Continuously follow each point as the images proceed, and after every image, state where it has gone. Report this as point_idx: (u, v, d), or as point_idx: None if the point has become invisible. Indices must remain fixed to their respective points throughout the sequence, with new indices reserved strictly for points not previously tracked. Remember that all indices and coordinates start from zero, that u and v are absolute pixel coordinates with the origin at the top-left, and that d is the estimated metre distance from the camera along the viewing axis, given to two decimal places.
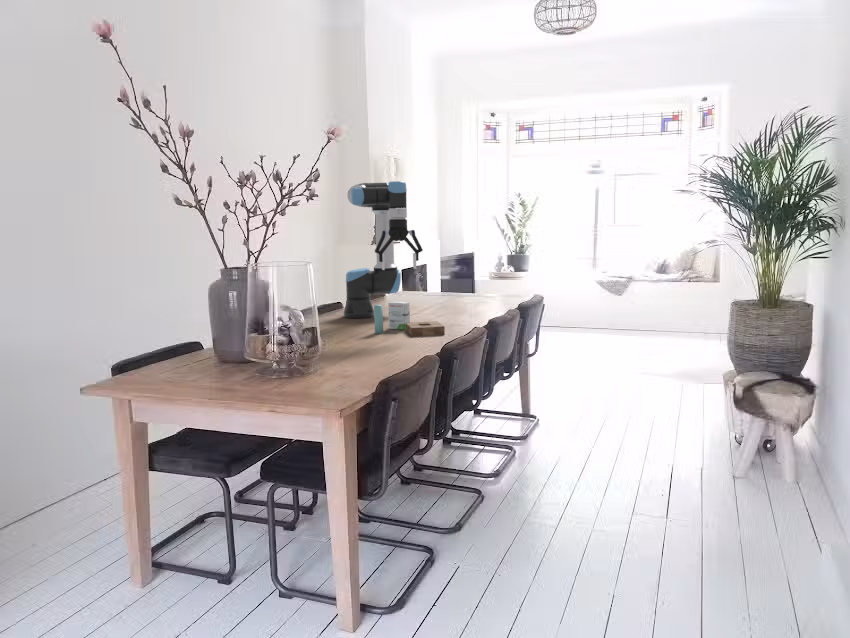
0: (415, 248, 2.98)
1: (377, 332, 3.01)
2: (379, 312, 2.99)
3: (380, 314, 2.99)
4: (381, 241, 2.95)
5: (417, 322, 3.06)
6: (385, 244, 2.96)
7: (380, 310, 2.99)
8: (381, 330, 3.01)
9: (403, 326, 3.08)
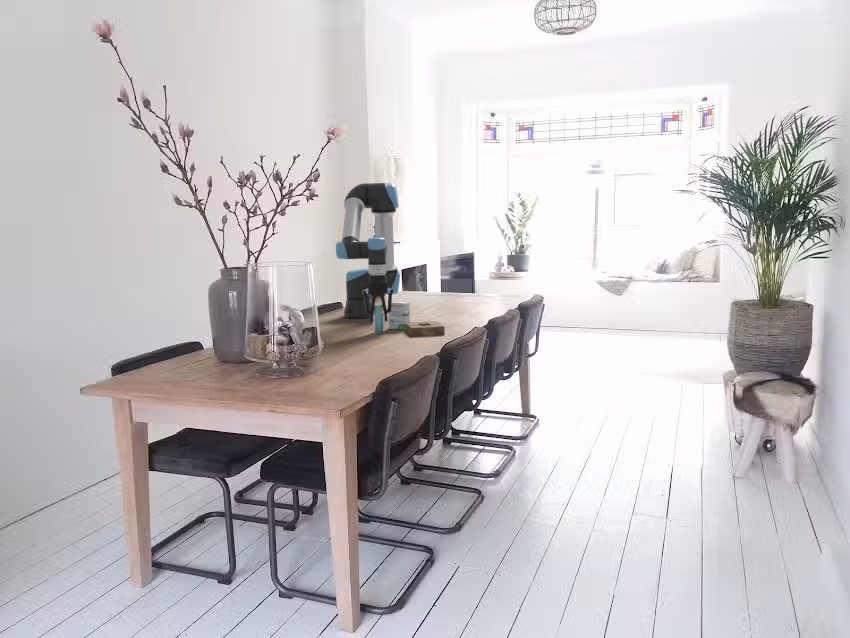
0: (385, 308, 3.00)
1: (377, 332, 3.00)
2: (379, 312, 2.99)
3: (380, 314, 2.99)
4: (366, 301, 2.98)
5: (417, 322, 3.06)
6: (371, 303, 2.99)
7: (380, 310, 2.99)
8: (381, 330, 3.01)
9: (403, 326, 3.08)
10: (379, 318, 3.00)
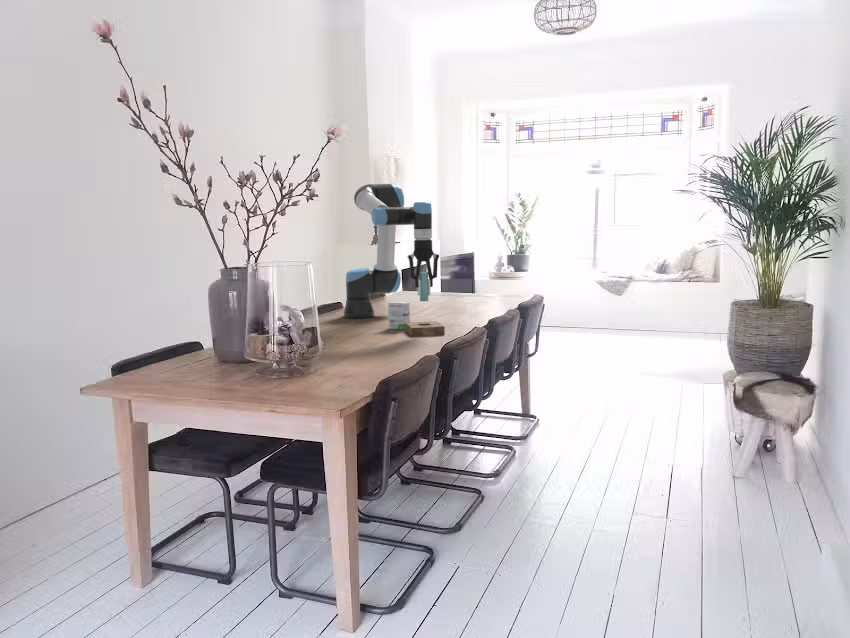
0: (431, 274, 2.97)
1: (422, 300, 2.97)
2: (425, 279, 2.96)
3: (426, 281, 2.96)
4: (412, 266, 2.94)
5: (417, 322, 3.06)
6: (416, 268, 2.96)
7: (426, 277, 2.96)
8: (426, 298, 2.97)
9: (403, 326, 3.08)
10: (425, 285, 2.96)
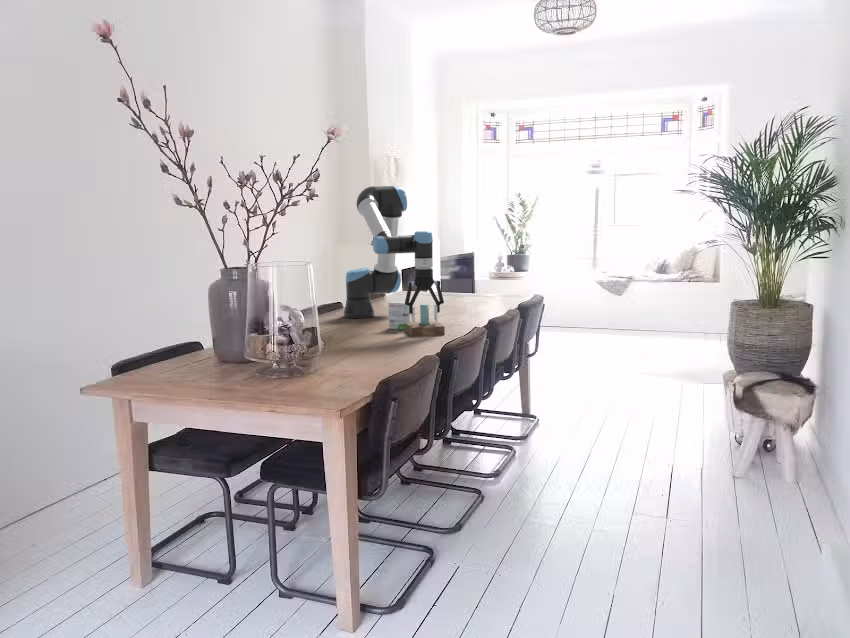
0: (437, 300, 2.99)
1: None
2: (425, 312, 2.98)
3: (426, 314, 2.98)
4: (409, 293, 2.96)
5: (417, 322, 3.06)
6: (413, 295, 2.98)
7: (426, 310, 2.98)
8: None
9: (403, 326, 3.08)
10: (426, 318, 2.98)
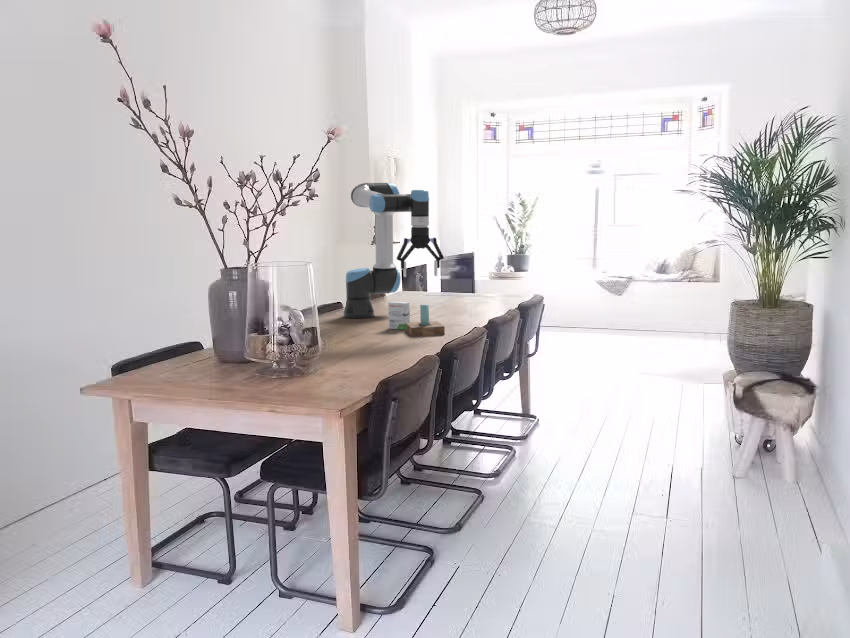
0: (436, 256, 3.03)
1: None
2: (425, 312, 2.98)
3: (427, 314, 2.98)
4: (403, 249, 2.99)
5: (417, 322, 3.06)
6: (407, 251, 3.01)
7: (426, 310, 2.98)
8: None
9: (403, 326, 3.08)
10: (426, 318, 2.98)
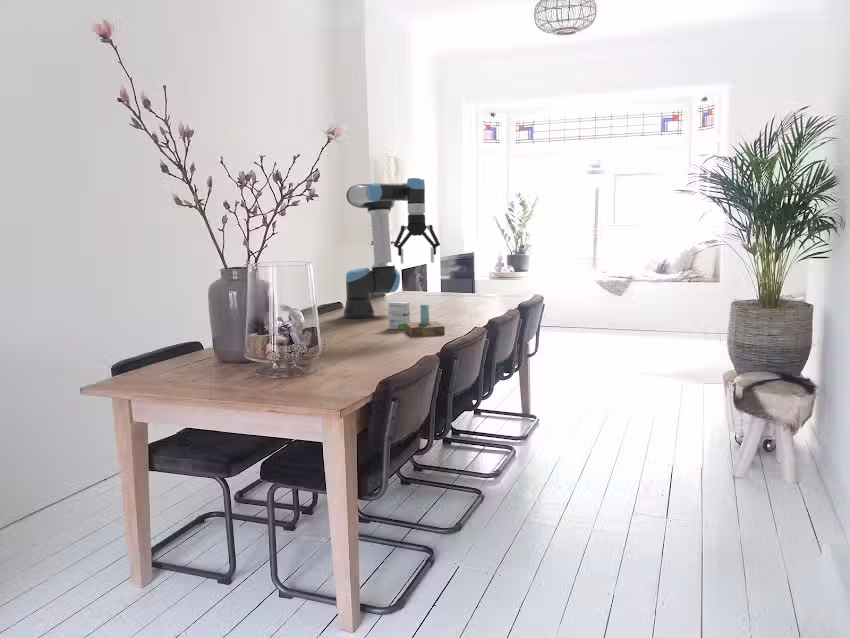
0: (433, 242, 3.09)
1: None
2: (426, 312, 2.98)
3: (427, 314, 2.98)
4: (400, 236, 3.06)
5: (417, 322, 3.06)
6: (404, 238, 3.07)
7: (426, 310, 2.98)
8: None
9: (403, 326, 3.08)
10: (426, 318, 2.98)
